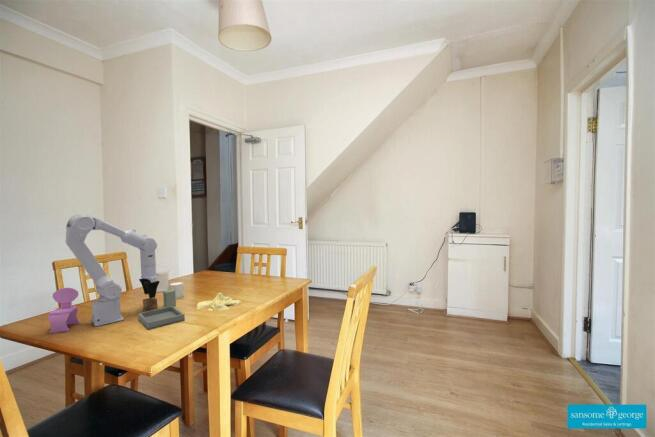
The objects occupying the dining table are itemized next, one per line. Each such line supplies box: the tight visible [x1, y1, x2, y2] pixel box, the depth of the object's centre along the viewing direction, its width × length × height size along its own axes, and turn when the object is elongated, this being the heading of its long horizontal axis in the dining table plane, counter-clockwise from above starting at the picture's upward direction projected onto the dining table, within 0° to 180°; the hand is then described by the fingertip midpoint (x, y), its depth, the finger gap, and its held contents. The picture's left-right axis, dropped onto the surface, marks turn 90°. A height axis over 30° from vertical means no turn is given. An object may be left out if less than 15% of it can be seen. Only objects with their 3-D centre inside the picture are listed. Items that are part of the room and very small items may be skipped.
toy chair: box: [48, 287, 81, 334], centre depth 120 cm, size 8×9×15 cm
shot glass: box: [168, 281, 185, 300], centre depth 158 cm, size 7×7×7 cm
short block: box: [142, 296, 158, 312], centre depth 139 cm, size 4×4×5 cm
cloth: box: [196, 292, 242, 312], centre depth 144 cm, size 22×19×6 cm
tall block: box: [162, 289, 177, 308], centre depth 145 cm, size 4×4×7 cm
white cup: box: [156, 270, 169, 293], centre depth 171 cm, size 8×8×10 cm
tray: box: [137, 306, 185, 330], centre depth 127 cm, size 13×15×2 cm
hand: (149, 295), depth 139 cm, fingers open, 7 cm apart
